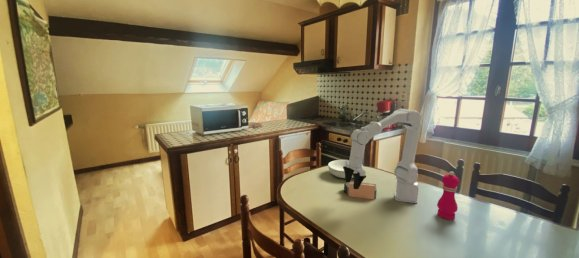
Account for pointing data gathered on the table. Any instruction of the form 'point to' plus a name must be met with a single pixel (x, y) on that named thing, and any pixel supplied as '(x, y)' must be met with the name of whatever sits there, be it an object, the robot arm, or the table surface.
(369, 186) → the side door
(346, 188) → the camera housing
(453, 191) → the pepper mill
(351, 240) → the table surface
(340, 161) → the serving bowl
